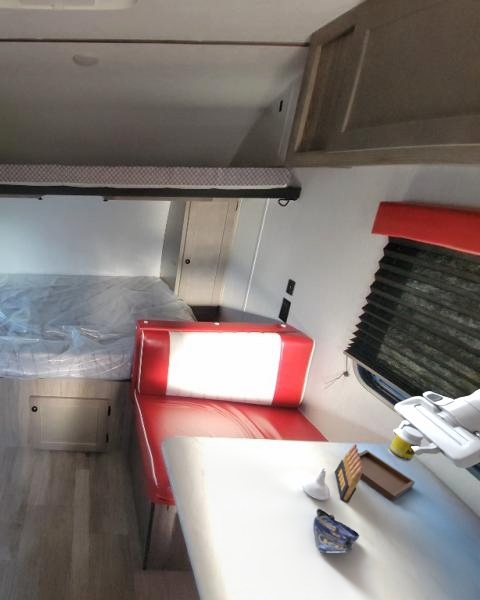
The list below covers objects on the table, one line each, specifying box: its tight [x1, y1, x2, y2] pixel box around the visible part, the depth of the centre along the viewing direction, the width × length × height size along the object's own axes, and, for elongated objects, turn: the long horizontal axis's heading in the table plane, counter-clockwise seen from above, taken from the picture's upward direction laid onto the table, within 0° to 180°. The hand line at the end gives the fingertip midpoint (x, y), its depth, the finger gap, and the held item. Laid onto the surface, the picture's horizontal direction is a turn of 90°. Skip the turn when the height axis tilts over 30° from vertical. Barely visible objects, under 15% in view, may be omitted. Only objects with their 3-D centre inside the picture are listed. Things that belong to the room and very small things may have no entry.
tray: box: [358, 449, 416, 502], centre depth 98 cm, size 12×12×2 cm
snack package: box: [312, 508, 360, 554], centre depth 79 cm, size 12×6×12 cm
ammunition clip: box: [334, 444, 363, 504], centre depth 92 cm, size 11×2×12 cm, turn 151°
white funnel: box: [301, 467, 331, 501], centre depth 90 cm, size 6×6×8 cm
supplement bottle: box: [388, 426, 424, 463], centre depth 90 cm, size 5×5×8 cm
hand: (403, 442), depth 90 cm, fingers closed on supplement bottle, 5 cm apart
